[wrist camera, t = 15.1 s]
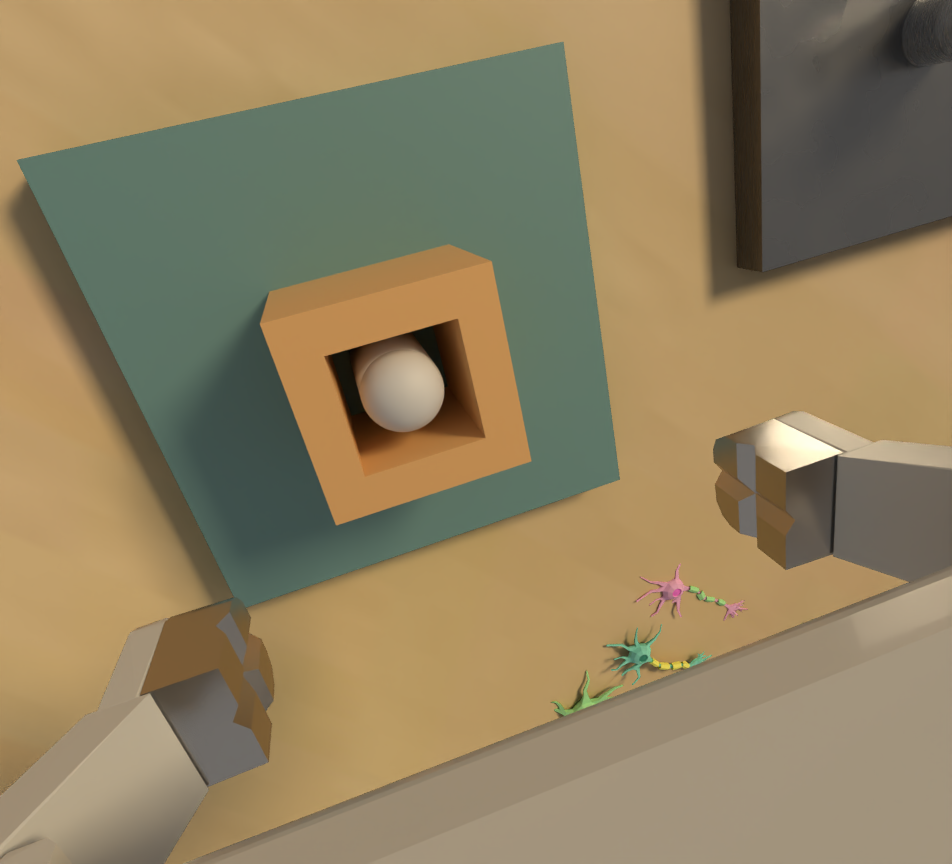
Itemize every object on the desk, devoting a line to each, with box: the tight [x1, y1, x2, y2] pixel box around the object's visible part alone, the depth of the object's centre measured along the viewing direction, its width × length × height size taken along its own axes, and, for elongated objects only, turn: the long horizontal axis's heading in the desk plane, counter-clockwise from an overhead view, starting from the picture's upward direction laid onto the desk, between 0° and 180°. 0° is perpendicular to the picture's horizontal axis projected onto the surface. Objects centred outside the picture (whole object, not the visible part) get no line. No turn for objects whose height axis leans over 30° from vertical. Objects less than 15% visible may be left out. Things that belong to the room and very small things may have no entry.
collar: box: [260, 244, 531, 525], centre depth 19 cm, size 6×6×5 cm
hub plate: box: [17, 42, 620, 607], centre depth 19 cm, size 16×16×7 cm
